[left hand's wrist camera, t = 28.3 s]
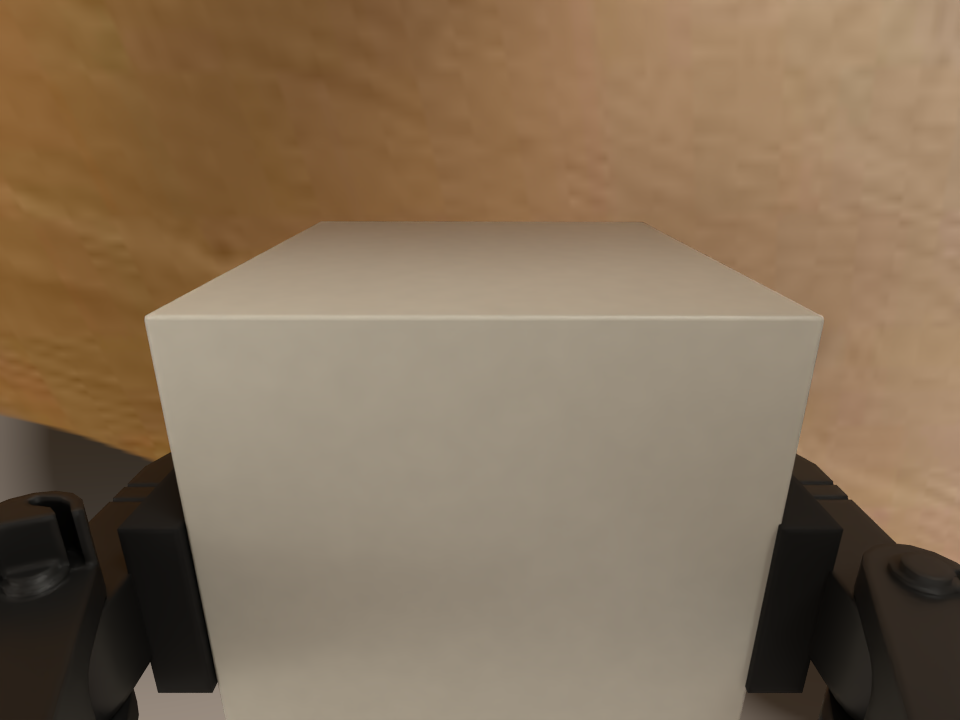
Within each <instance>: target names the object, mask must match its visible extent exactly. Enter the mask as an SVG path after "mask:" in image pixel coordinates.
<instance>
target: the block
mask: <svg viewBox="0 0 960 720" xmlns="http://www.w3.org/2000/svg"><path fill="white" fill-rule="evenodd" d="M823 324H824V318H823V316H821V315H819V314H817V313H815V312H814V311H812V310H810V309H808V308H806V307H804V306H802V305H800V304H798V303H796V302H794V301H793V300H791V299H789V298H787V297H785V296H783V295H781V294H779V293H777V292H775V291H773V290H771V289H770V288H768V287H766V286H764V285H762V284H760V283H758V282H756V281H754V280H752V279H750V278H749V277H747V276H745V275H743V274H741V273H739V272H737V271H735V270H733V269H731V268H729V267H727V266H726V265H724V264H722V263H720V262H718V261H716V260H714V259H712V258H710V257H708V256H706V255H705V254H703V253H701V252H699V251H697V250H695V249H693V248H691V247H689V246H687V245H685V244H683V243H682V242H680V241H678V240H676V239H674V238H672V237H670V236H668V235H666V234H664V233H662V232H661V231H659V230H657V229H655V228H653V227H651V226H649V225H647V224H645V223H643V222H319V223H317V224H316V225H314V226H312V227H310V228H308V229H306V230H304V231H303V232H301V233H299V234H297V235H295V236H293V237H291V238H289V239H288V240H286V241H284V242H282V243H280V244H278V245H276V246H275V247H273V248H271V249H269V250H267V251H265V252H263V253H261V254H260V255H258V256H256V257H254V258H252V259H250V260H248V261H247V262H245V263H243V264H241V265H239V266H237V267H235V268H233V269H232V270H230V271H228V272H226V273H224V274H222V275H220V276H219V277H217V278H215V279H213V280H211V281H209V282H207V283H205V284H204V285H202V286H200V287H198V288H196V289H194V290H192V291H191V292H189V293H187V294H185V295H183V296H181V297H179V298H177V299H176V300H174V301H172V302H170V303H168V304H166V305H164V306H163V307H161V308H159V309H157V310H155V311H153V312H151V313H149V314H148V315H146V316H145V325H146V330H147V335H148V340H149V345H150V350H151V355H152V360H153V365H154V370H155V375H156V380H157V385H158V390H159V394H160V399H161V404H162V409H163V414H164V419H165V424H166V429H167V434H168V439H169V444H170V449H171V454H172V459H173V464H174V469H175V473H176V478H177V483H178V488H179V493H180V498H181V503H182V508H183V513H184V518H185V523H186V528H187V533H188V538H189V543H190V548H191V552H192V557H193V562H194V567H195V572H196V577H197V582H198V587H199V592H200V597H201V602H202V607H203V612H204V617H205V622H206V627H207V631H208V636H209V641H210V646H211V651H212V656H213V661H214V666H215V671H216V676H217V681H218V686H219V690H220V696H221V701H222V705H223V710H224V715H225V720H740V717H741V712H742V708H743V703H744V698H745V693H746V688H745V684H746V680H747V675H748V670H749V665H750V660H751V656H752V651H753V646H754V641H755V636H756V632H757V627H758V622H759V617H760V612H761V607H762V603H763V598H764V593H765V588H766V583H767V579H768V574H769V569H770V564H771V559H772V555H773V550H774V545H775V540H776V535H777V531H778V526H779V524H781V523H782V518H783V513H784V509H785V504H786V499H787V494H788V490H789V485H790V480H791V475H792V471H793V466H794V461H795V456H796V452H797V447H798V442H799V437H800V433H801V428H802V423H803V418H804V414H805V409H806V404H807V400H808V395H809V390H810V385H811V381H812V376H813V371H814V366H815V362H816V357H817V352H818V347H819V343H820V338H821V333H822V328H823Z"/></svg>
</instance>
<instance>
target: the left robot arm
mask: <svg viewBox="0 0 960 720" xmlns="http://www.w3.org/2000/svg"><path fill="white" fill-rule="evenodd" d="M810 660H811V661H812V662H813V664H814V665H815V667H816V669H817V670H818V672H819V673H820V675H821V677H822V678H823V680H824V681H825V683H826V685H827V689H826V692H825V696H824V699H823V703H822V707H821V710H820V714H819V718H818V720H960V565H959V564H958V563H956V562H954V561H952V560H950V559H948V558H946V557H943V556H941V555H939V554H937V553H935V552H932V551H928V550H925V549H922V548H918V547H915V546H911V545H904V544H896V543H895V542H894V541H893V540H892V539H891V538H890V537H889V536H888V535H887V534H886V533H885V532H884V531H883V530H882V529H881V528H880V527H879V526H878V525H877V524H876V523H875V522H874V521H873V520H872V519H871V518H870V517H869V516H868V515H867V514H866V513H865V512H864V511H863V510H862V509H861V508H860V507H859V506H858V505H856V504H855V503H854V502H853V501H852V500H848V496H847V495H846V494H845V493H844V492H843V491H842V490H841V489H840V488H839V487H838V486H837V485H833V481H832V480H831V479H830V478H829V477H828V476H827V475H826V474H825V473H824V472H823V471H822V470H821V469H820V468H819V467H818V466H817V465H816V464H814V463H812V462H810V461H808V460H807V459H805V458H803V457H801V456H799V455H798V454H796V456H795V461H794V466H793V471H792V475H791V480H790V485H789V490H788V494H787V499H786V504H785V509H784V513H783V518H782V523H781V524H779V526H778V531H777V535H776V540H775V545H774V550H773V555H772V559H771V564H770V569H769V574H768V579H767V583H766V588H765V593H764V598H763V603H762V607H761V612H760V617H759V622H758V627H757V632H756V636H755V641H754V646H753V651H752V656H751V660H750V665H749V670H748V675H747V680H746V684H745V688H746V690H747V692H748V693H802V692H803V688H804V684H805V680H806V676H807V672H808V668H809V664H810ZM150 662H151V666H152V670H153V674H154V678H155V682H156V686H157V690H158V693H212V692H213V690H214V688H215V686H216V684H217V682H218V681H217V676H216V671H215V666H214V661H213V656H212V651H211V646H210V641H209V636H208V631H207V627H206V622H205V617H204V612H203V607H202V602H201V597H200V592H199V587H198V582H197V577H196V572H195V567H194V562H193V557H192V552H191V548H190V543H189V538H188V533H187V528H186V523H185V518H184V513H183V508H182V503H181V498H180V493H179V488H178V483H177V478H176V473H175V469H174V464H173V459H172V454H171V452H170V453H169V454H167V455H165V456H163V457H161V458H160V459H158V460H156V461H154V462H152V463H151V464H149V465H147V466H145V467H144V468H143V469H142V470H141V471H140V472H139V473H138V474H137V475H136V476H135V477H134V478H133V479H132V480H131V481H130V482H129V483H128V487H124V488H123V489H122V490H121V491H120V492H119V493H118V494H117V495H116V496H115V497H114V498H113V502H109V503H108V504H107V505H106V506H105V507H104V508H103V509H102V510H101V511H100V512H99V513H98V514H97V515H96V516H95V517H94V518H93V519H92V520H91V521H90V522H89V523H88V519H87V515H86V512H85V508H84V504H83V501H82V499H81V498H79V497H78V496H76V495H75V494H73V493H68V492H60V491H49V492H39V493H32V494H28V495H24V496H20V497H16V498H12V499H8V500H6V501H3V502H1V503H0V720H138V716H139V713H138V705H137V700H136V696H135V692H134V687H135V685H136V684H137V682H138V680H139V679H140V677H141V676H142V674H143V673H144V671H145V669H146V668H147V666H148V665H149V663H150Z"/></svg>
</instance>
